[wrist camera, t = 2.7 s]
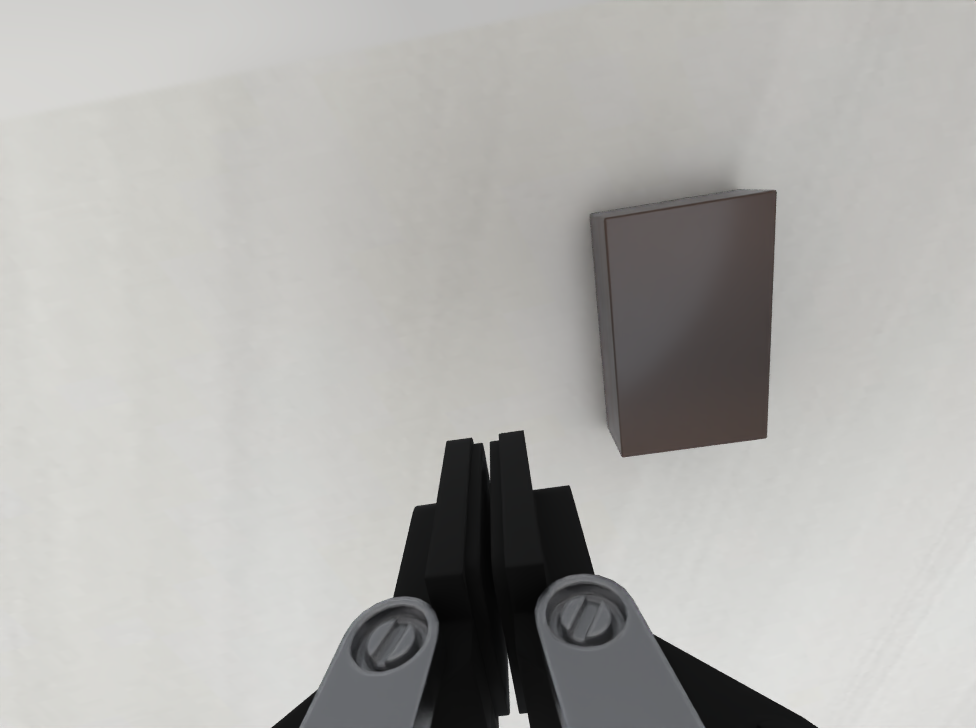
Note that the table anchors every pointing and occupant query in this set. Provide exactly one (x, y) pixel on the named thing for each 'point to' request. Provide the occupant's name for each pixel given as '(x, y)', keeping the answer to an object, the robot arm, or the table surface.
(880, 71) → the table surface
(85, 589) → the table surface
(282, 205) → the table surface
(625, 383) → the walnut block
